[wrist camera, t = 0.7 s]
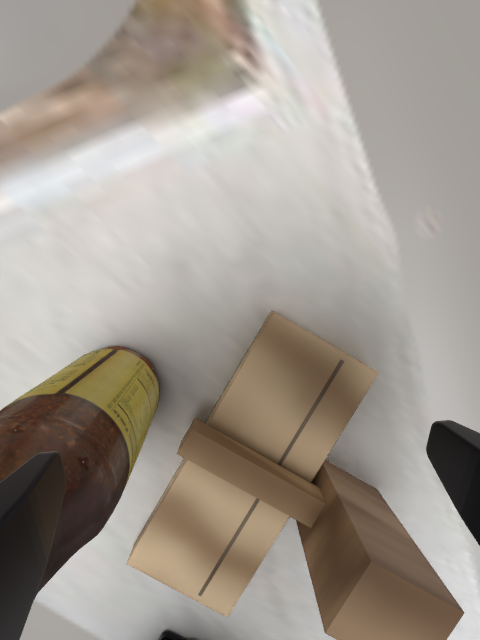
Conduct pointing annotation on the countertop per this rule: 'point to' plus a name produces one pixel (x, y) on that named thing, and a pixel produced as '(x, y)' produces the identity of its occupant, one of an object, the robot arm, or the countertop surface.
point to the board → (265, 439)
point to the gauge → (341, 544)
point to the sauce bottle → (83, 438)
